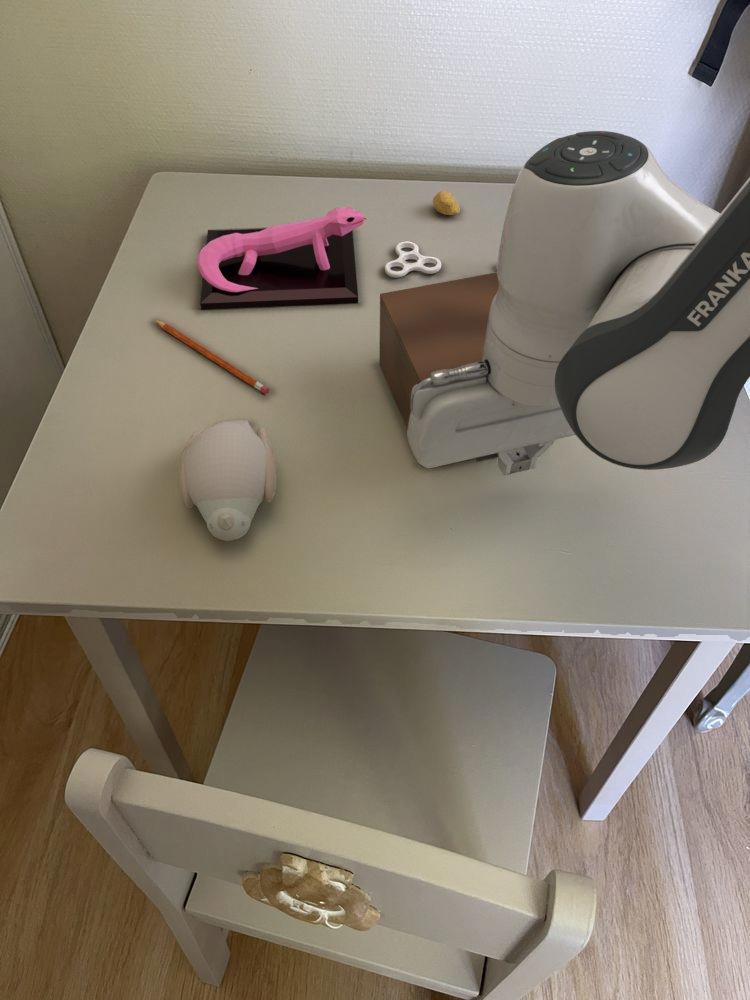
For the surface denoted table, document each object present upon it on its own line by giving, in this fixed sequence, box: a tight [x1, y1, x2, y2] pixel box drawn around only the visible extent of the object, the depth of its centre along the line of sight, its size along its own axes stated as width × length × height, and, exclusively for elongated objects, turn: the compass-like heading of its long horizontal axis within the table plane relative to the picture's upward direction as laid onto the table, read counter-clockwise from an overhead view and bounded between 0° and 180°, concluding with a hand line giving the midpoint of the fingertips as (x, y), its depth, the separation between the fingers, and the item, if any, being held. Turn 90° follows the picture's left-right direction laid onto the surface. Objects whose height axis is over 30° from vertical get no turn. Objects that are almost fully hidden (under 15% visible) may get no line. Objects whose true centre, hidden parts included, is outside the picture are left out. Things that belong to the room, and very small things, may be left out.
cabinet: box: [378, 271, 499, 431], centre depth 78 cm, size 15×14×10 cm
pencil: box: [155, 320, 270, 395], centre depth 86 cm, size 1×18×1 cm, turn 50°
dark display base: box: [196, 206, 367, 311], centre depth 92 cm, size 15×20×7 cm
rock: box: [432, 190, 461, 216], centre depth 102 cm, size 4×4×3 cm
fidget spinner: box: [384, 240, 442, 278], centre depth 96 cm, size 7×6×1 cm
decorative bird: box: [178, 419, 278, 542], centre depth 72 cm, size 9×16×8 cm, turn 9°
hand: (515, 466), depth 70 cm, fingers closed, pressing on drawer
